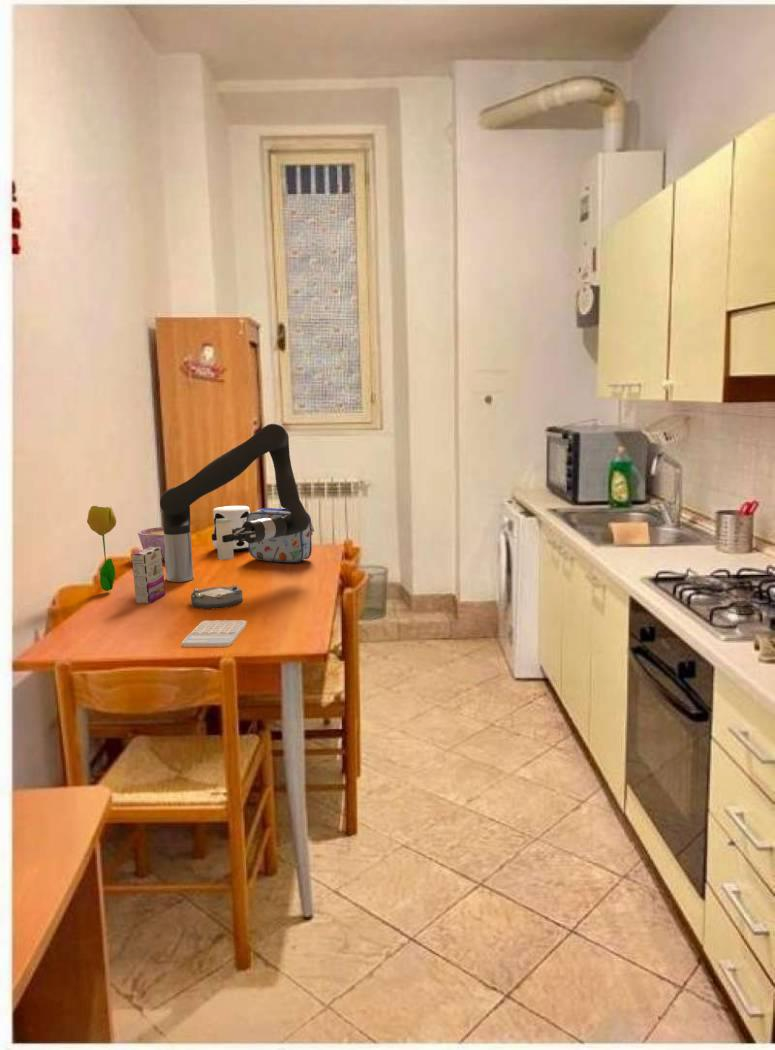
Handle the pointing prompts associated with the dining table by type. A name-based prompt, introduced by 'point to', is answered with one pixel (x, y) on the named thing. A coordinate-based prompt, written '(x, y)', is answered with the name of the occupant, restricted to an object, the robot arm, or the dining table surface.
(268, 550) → the lunch box
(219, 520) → the column
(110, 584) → the flower
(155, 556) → the candy bar box
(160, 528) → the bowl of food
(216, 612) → the dining table surface
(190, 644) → the calculator
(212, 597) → the base plate
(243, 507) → the milk container
